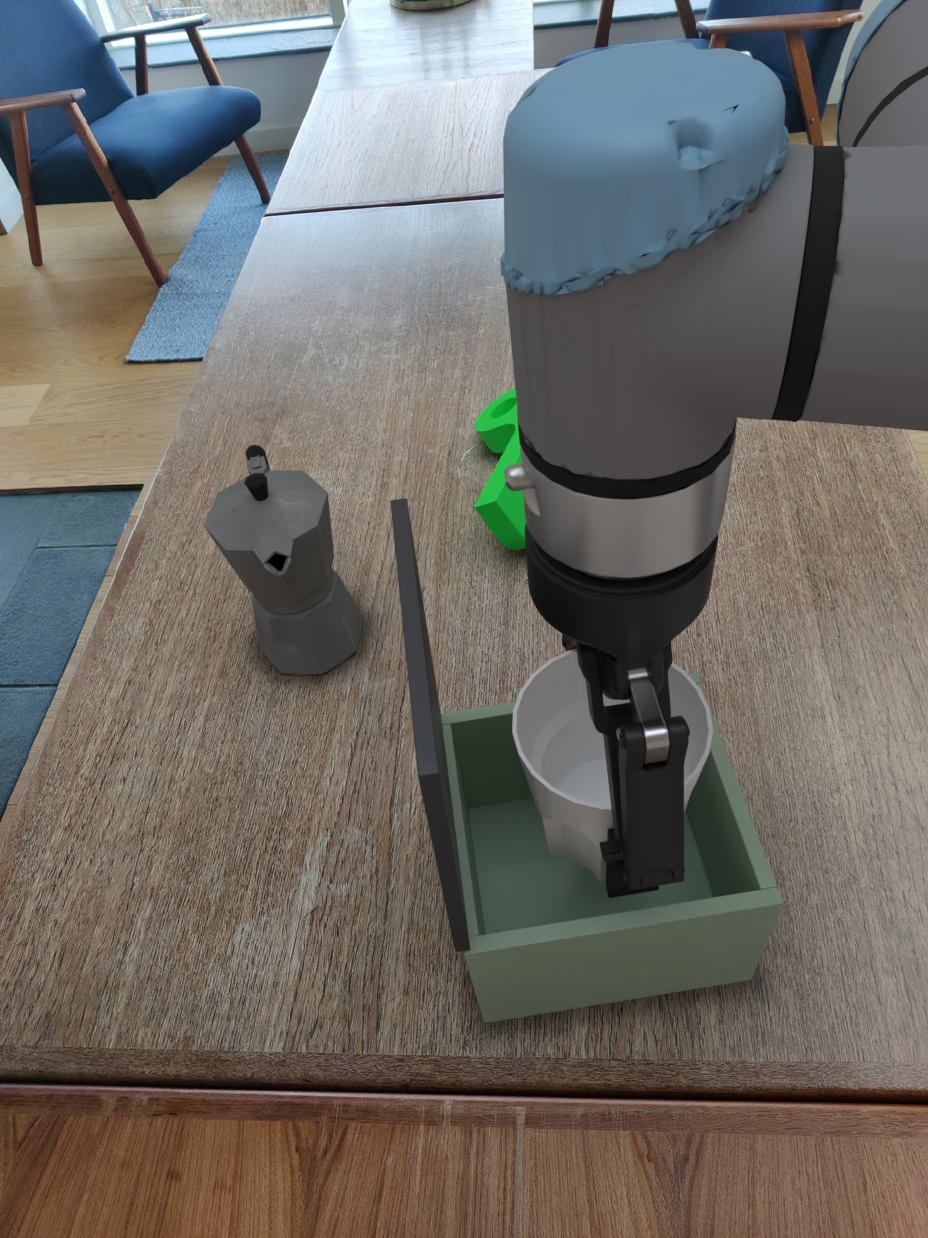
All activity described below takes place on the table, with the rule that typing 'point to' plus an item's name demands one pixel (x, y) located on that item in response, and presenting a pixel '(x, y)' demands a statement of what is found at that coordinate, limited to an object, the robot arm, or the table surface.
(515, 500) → the bracket
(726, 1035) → the table surface
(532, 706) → the cup
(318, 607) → the coffeepot
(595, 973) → the green box
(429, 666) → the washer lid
